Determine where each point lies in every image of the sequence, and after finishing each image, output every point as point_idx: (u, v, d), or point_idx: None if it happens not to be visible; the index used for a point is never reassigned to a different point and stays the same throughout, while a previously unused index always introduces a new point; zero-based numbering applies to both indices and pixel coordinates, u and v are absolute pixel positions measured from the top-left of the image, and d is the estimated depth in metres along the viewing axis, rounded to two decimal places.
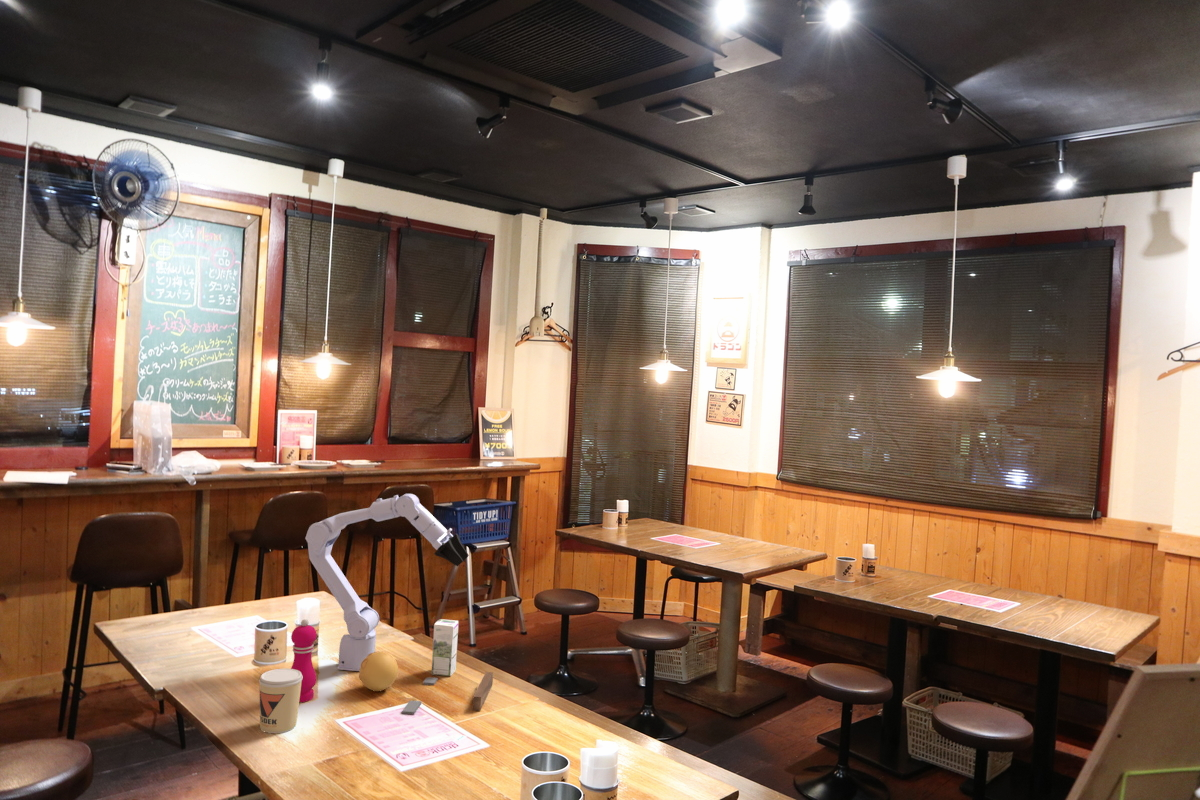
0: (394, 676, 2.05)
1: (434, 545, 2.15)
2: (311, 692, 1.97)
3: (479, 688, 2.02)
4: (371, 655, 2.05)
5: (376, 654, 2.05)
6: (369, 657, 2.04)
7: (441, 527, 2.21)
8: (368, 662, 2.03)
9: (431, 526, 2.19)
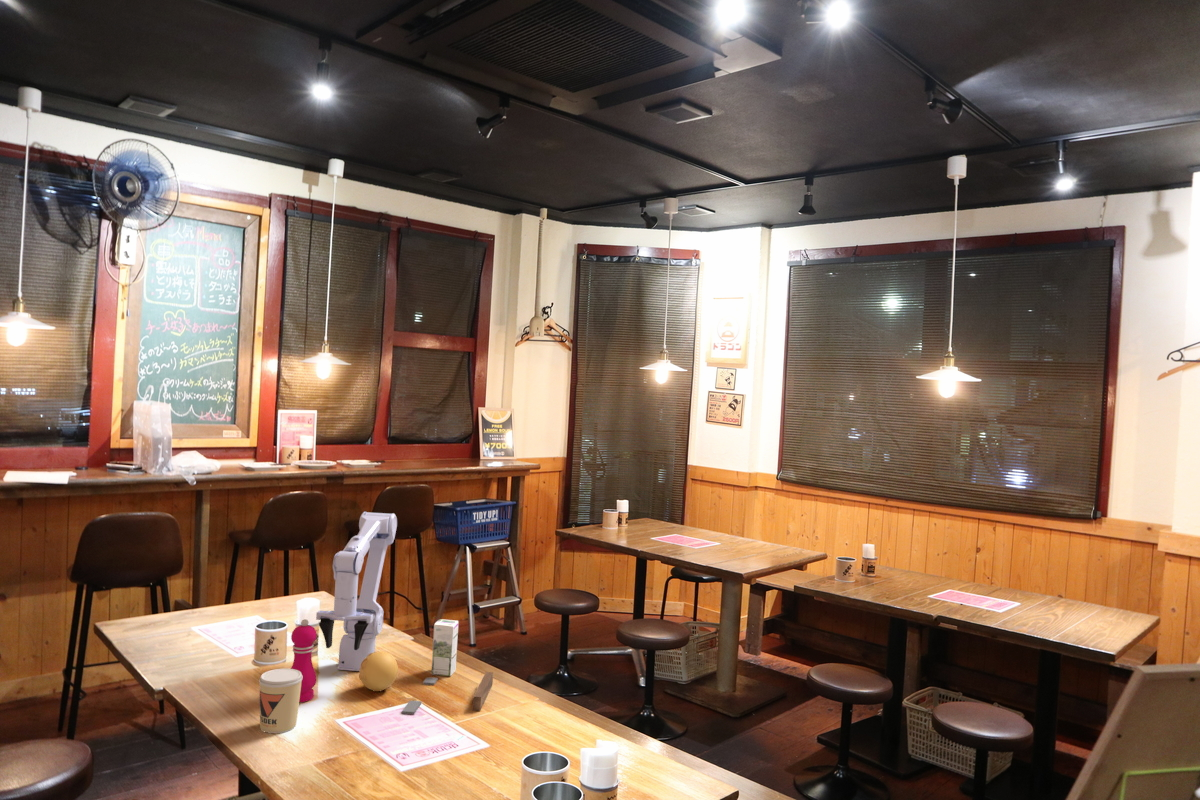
0: (394, 676, 2.05)
1: None
2: (311, 692, 1.97)
3: (479, 688, 2.02)
4: (371, 655, 2.05)
5: (376, 654, 2.05)
6: (369, 657, 2.04)
7: (337, 608, 2.04)
8: (368, 662, 2.03)
9: (334, 598, 2.05)
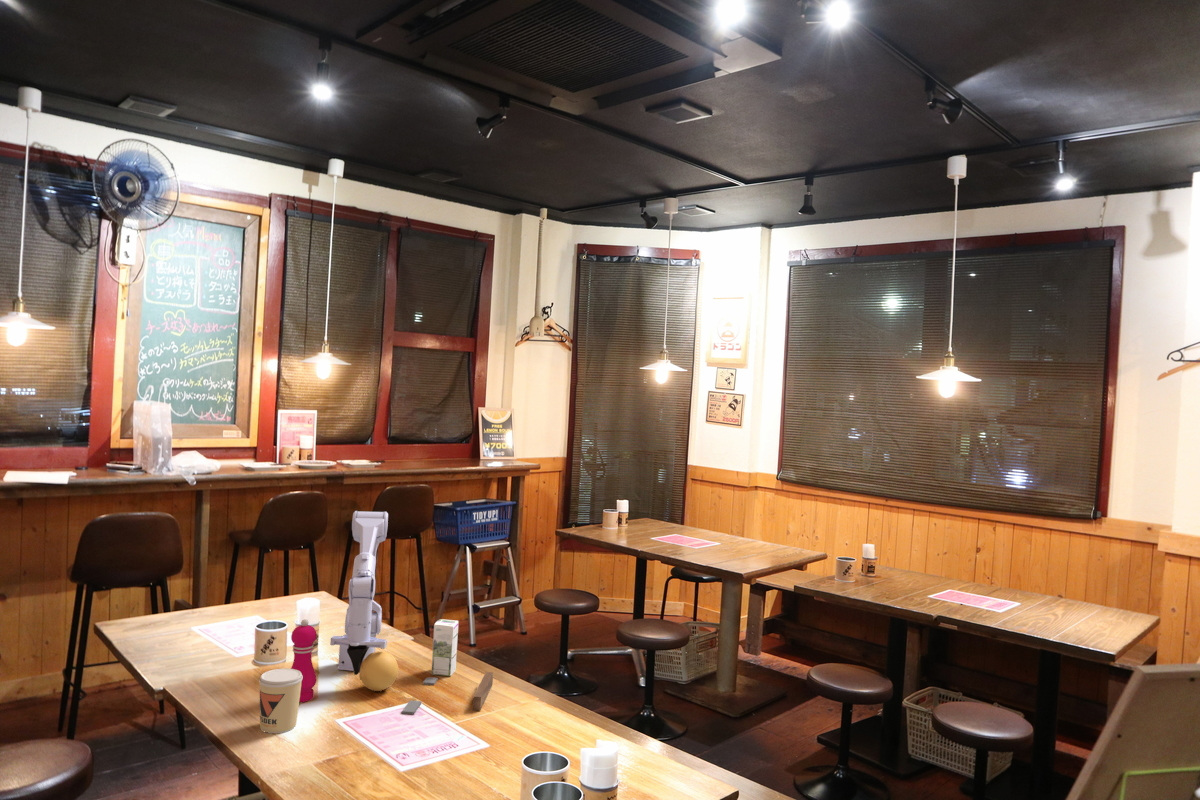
0: (394, 676, 2.05)
1: None
2: (311, 692, 1.97)
3: (479, 688, 2.02)
4: (371, 655, 2.05)
5: (376, 654, 2.05)
6: (369, 657, 2.04)
7: (352, 634, 2.04)
8: (369, 662, 2.03)
9: (348, 624, 2.05)
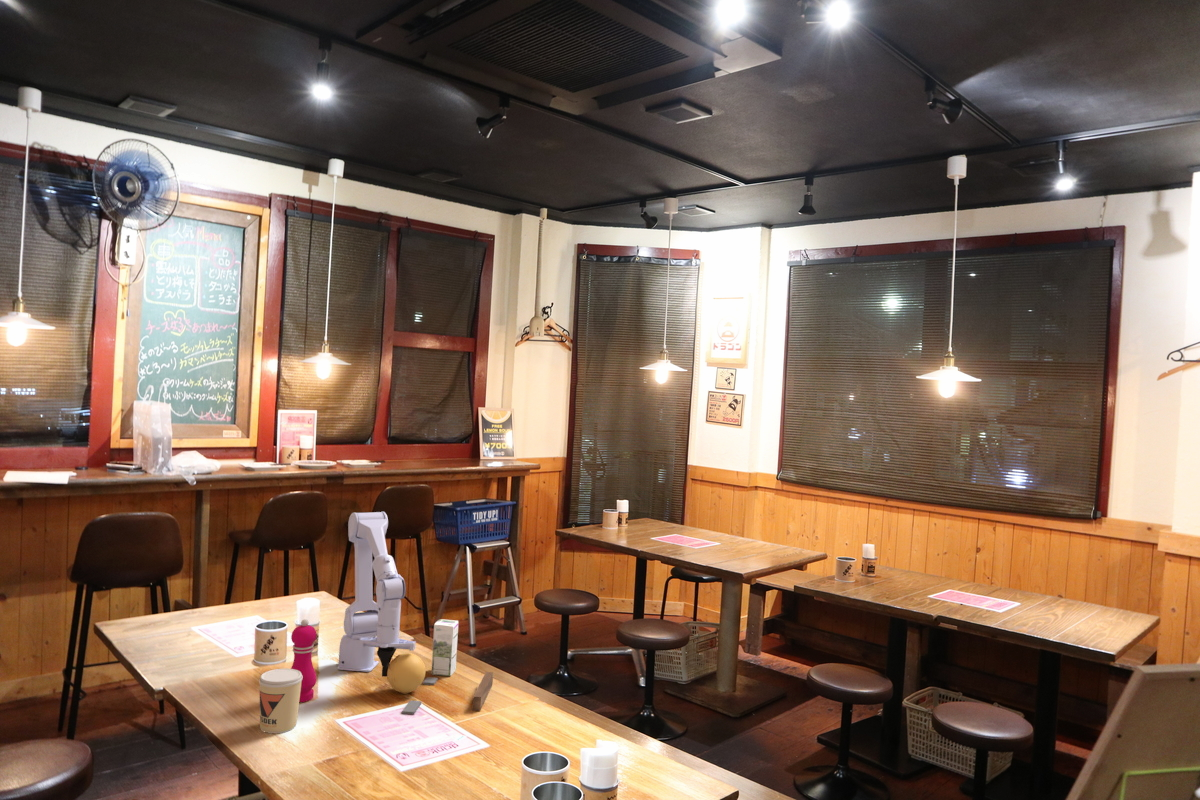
0: (422, 678, 2.04)
1: None
2: (311, 692, 1.97)
3: (479, 688, 2.02)
4: (399, 657, 2.04)
5: (404, 656, 2.05)
6: (397, 659, 2.04)
7: (381, 636, 2.03)
8: (396, 664, 2.03)
9: (377, 626, 2.05)
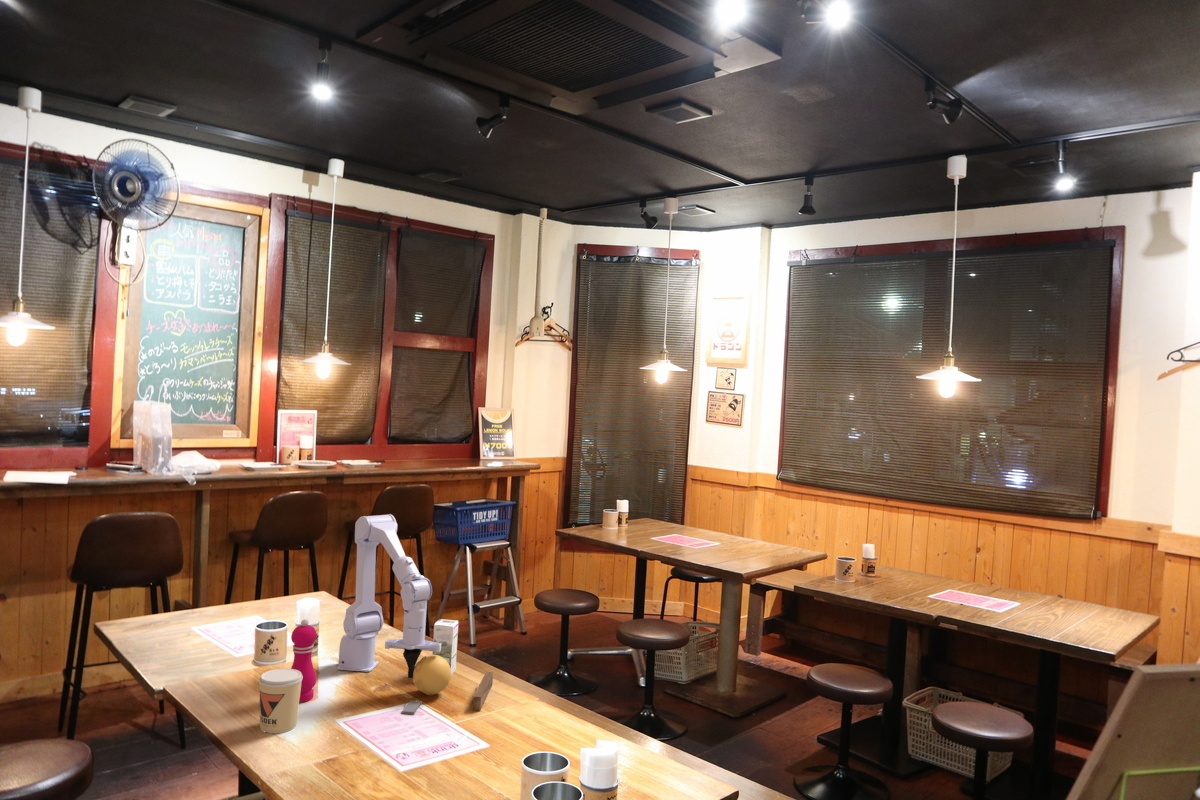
0: (448, 680, 2.04)
1: None
2: (311, 692, 1.97)
3: (479, 688, 2.02)
4: (425, 658, 2.04)
5: (430, 658, 2.04)
6: (423, 660, 2.04)
7: (407, 637, 2.03)
8: (423, 665, 2.02)
9: (403, 627, 2.05)
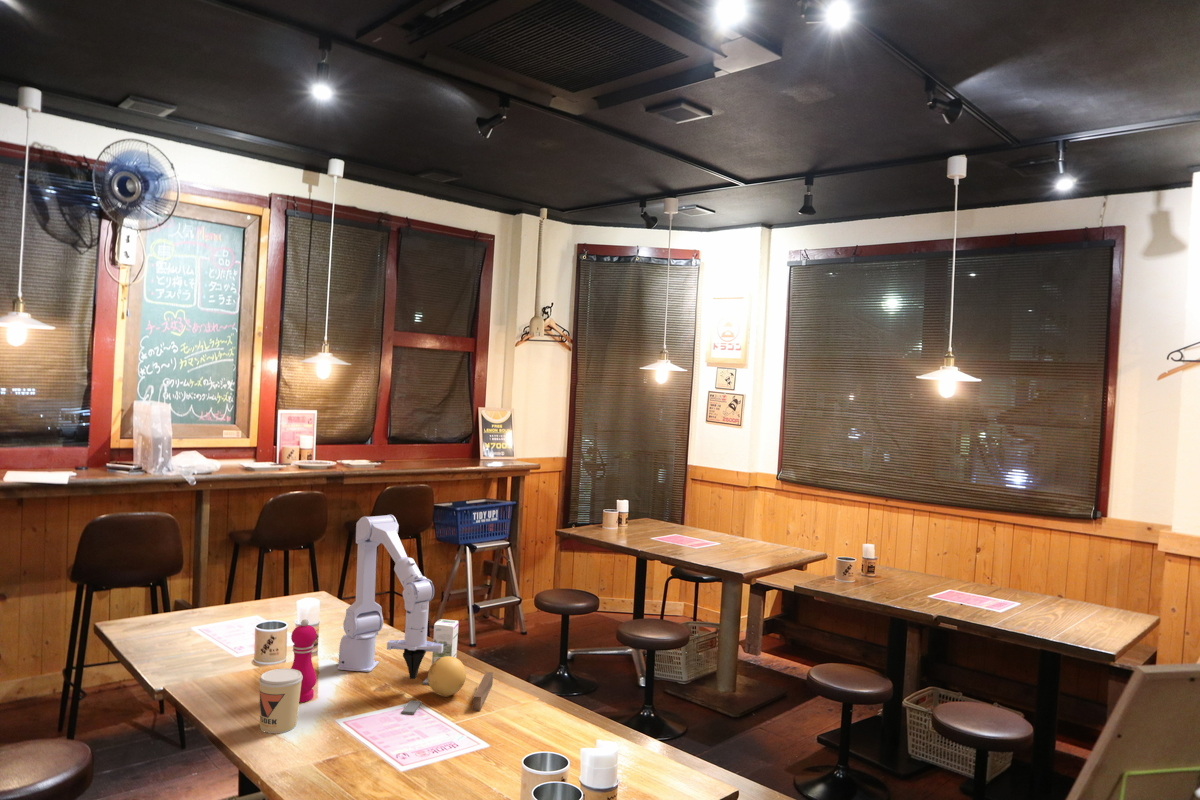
0: (463, 681, 2.04)
1: None
2: (311, 692, 1.97)
3: (479, 688, 2.02)
4: (440, 660, 2.04)
5: (445, 659, 2.04)
6: (438, 662, 2.04)
7: (409, 638, 2.03)
8: (437, 667, 2.02)
9: (405, 628, 2.05)
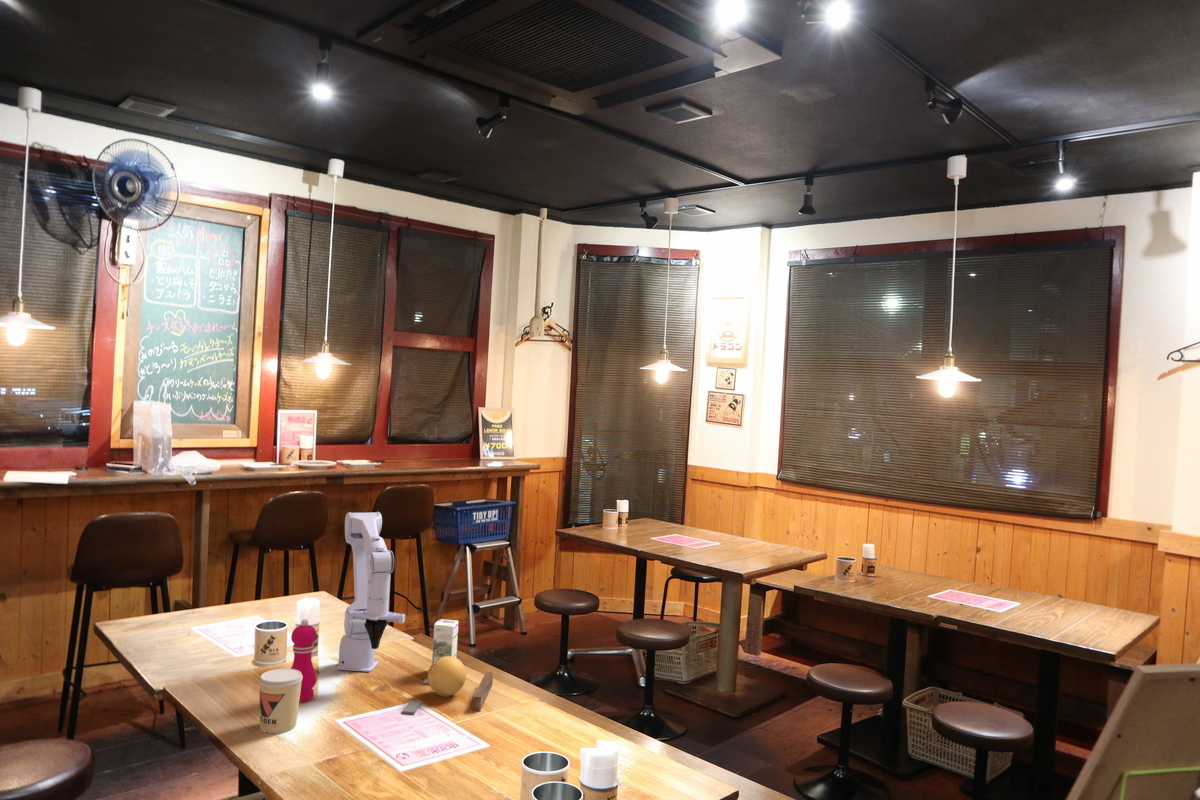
0: (463, 681, 2.04)
1: None
2: (311, 692, 1.97)
3: (479, 688, 2.02)
4: (440, 660, 2.04)
5: (445, 659, 2.04)
6: (438, 662, 2.04)
7: (370, 608, 2.06)
8: (437, 667, 2.02)
9: (367, 599, 2.07)
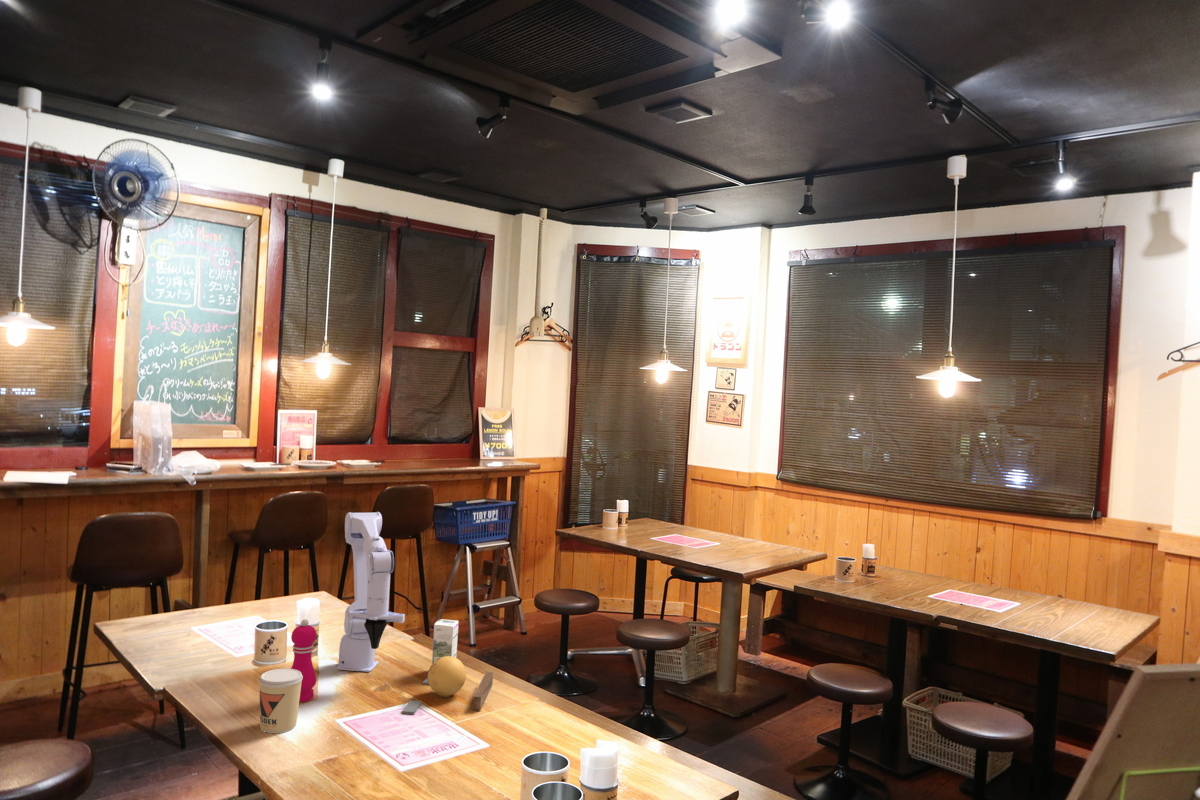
0: (463, 681, 2.04)
1: None
2: (311, 692, 1.97)
3: (479, 688, 2.02)
4: (440, 660, 2.04)
5: (445, 659, 2.04)
6: (438, 662, 2.04)
7: (370, 608, 2.06)
8: (437, 667, 2.02)
9: (367, 599, 2.07)
